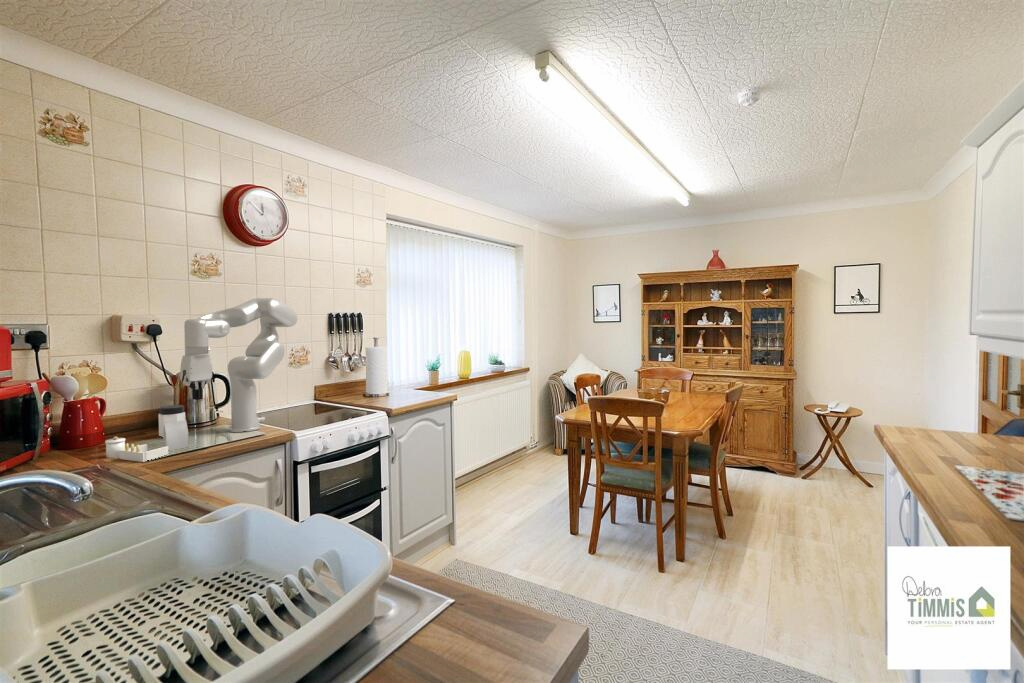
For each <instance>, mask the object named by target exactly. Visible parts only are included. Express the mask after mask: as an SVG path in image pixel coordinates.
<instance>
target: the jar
mask: <svg viewBox="0 0 1024 683" xmlns="http://www.w3.org/2000/svg"><path fill="white" fill-rule="evenodd" d="M158 409H159V410H158V411H159V413H158V437H159V436H162V437H163V431H164V423H170V422H177V421H184V420H186V412H185V406H184V405H183V404H171V405H165V406H159V408H158Z"/></svg>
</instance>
